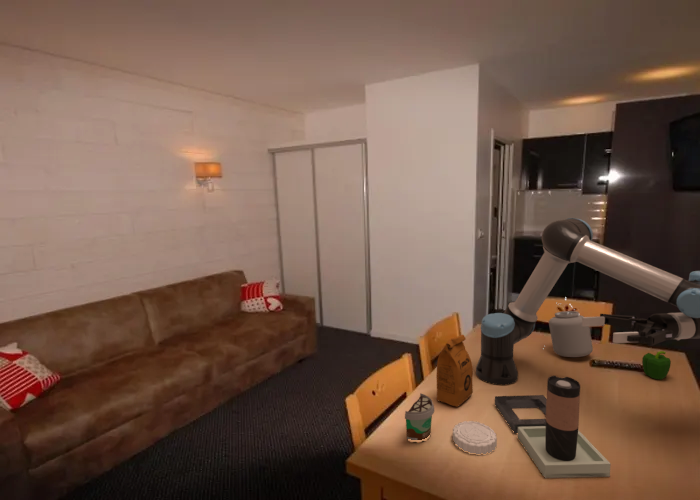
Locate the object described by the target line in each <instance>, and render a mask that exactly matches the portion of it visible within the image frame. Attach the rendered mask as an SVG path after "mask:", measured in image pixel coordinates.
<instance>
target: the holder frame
mask: <svg viewBox="0 0 700 500" xmlns="http://www.w3.org/2000/svg"><path fill="white" fill-rule="evenodd" d="M546 401H547V396H545V395H544V394H535V395H534V394H533V395H531V394H530V395H529V394H528V395H499V396H498V395H495V396H494V406H495V405H496V406H497V407H496V406H495V407H496V409H497V408H498V409H499V410H498V409H497V410H498V412H499V411H500V412H501V413H500V412H499V413H500V415H501V414H502V415H503V416H502V415H501V416H502V418H503V417H504V418H503V420H504V421H505V420H506V421H507V422H506V421H505V422H506V424H507V423H508V424H509V425H508V424H507V425H508V427H509V426H510V427H511V428H510V427H509V428H510V429H512V430H513V431H514V433H518V427H531V426H546V418H522V419H520V418H519V417H518V415H517V413H515V411H514V410H513V409H539V410H540V411H541V412H542V413H543V414H544V416H546ZM512 430H511V431H512ZM513 431H512V432H513ZM514 433H513V434H514Z"/></svg>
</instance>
